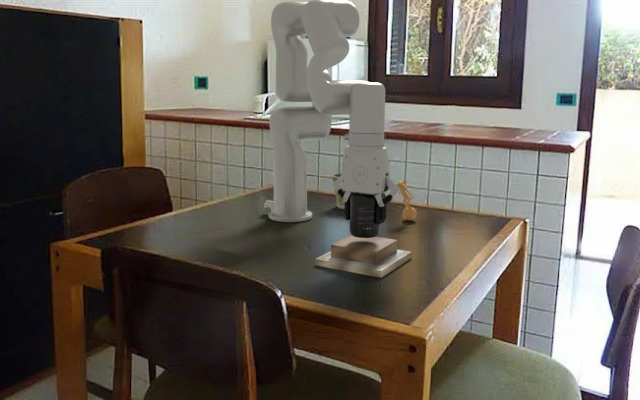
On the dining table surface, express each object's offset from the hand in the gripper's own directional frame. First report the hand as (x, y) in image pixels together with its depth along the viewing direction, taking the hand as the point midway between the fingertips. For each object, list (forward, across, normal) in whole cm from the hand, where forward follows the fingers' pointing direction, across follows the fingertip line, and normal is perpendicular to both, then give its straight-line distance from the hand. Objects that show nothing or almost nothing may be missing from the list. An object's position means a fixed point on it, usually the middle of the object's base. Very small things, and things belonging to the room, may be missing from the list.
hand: (364, 220), depth 139 cm
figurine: (+10, -7, +40) cm, 42 cm away
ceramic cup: (+10, -28, +47) cm, 56 cm away
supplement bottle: (+3, 0, 0) cm, 3 cm away
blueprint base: (+10, 0, 0) cm, 10 cm away
